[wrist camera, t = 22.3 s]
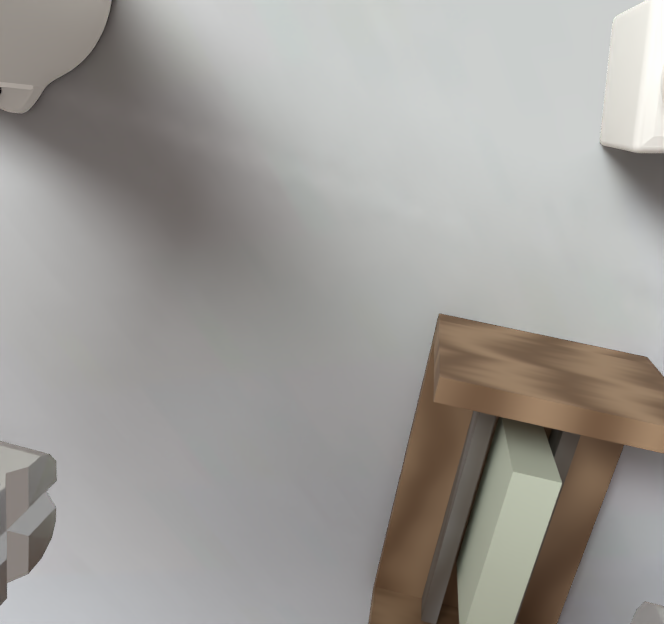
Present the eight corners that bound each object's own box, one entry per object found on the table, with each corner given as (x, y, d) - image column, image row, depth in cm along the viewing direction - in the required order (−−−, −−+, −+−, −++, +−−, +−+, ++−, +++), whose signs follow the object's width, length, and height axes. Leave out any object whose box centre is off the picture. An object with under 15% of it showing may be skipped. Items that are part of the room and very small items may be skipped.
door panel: (456, 562, 50) (459, 642, 43) (500, 411, 46) (513, 471, 38) (493, 571, 50) (503, 653, 43) (541, 421, 45) (562, 482, 38)
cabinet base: (373, 588, 54) (357, 707, 44) (439, 313, 46) (439, 377, 35) (545, 632, 53) (573, 766, 42) (647, 357, 44) (715, 437, 33)
